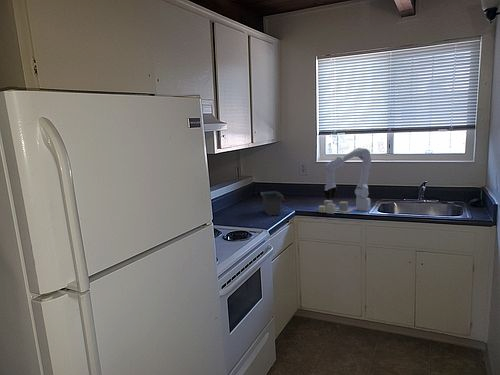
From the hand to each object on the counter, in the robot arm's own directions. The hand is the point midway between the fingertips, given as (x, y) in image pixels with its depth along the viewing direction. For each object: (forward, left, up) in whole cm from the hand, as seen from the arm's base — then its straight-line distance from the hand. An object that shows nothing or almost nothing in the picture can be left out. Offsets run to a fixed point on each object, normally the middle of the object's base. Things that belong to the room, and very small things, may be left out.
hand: (330, 198), depth 264 cm
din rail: (0, -9, -10) cm, 13 cm away
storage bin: (+37, +18, -10) cm, 42 cm away
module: (0, 0, -10) cm, 10 cm away
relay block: (+7, 0, -10) cm, 12 cm away
